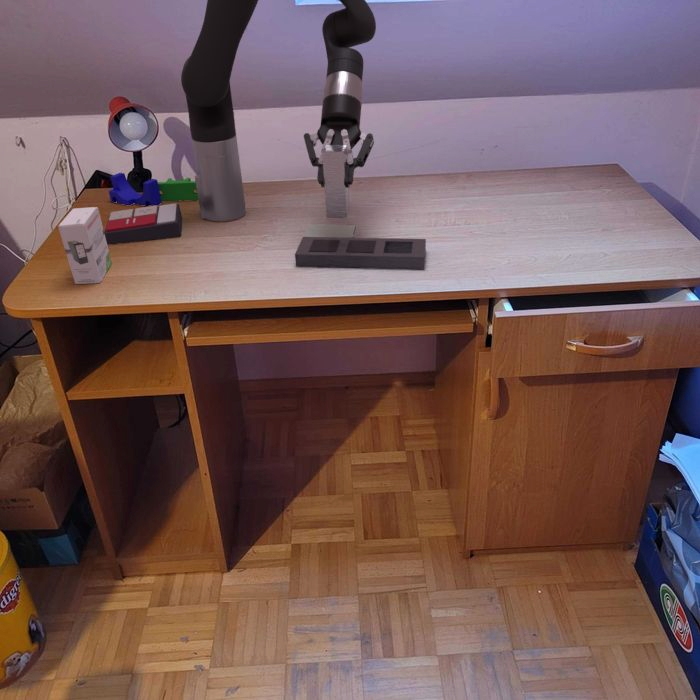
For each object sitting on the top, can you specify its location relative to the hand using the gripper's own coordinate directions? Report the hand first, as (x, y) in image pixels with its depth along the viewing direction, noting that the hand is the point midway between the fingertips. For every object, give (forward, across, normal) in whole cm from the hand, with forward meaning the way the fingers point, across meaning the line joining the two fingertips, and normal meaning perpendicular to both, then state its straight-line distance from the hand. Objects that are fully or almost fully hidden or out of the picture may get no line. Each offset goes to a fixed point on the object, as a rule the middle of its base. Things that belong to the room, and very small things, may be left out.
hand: (334, 185), depth 126 cm
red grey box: (+6, -43, +12) cm, 45 cm away
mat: (+6, -3, +12) cm, 14 cm away
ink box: (+20, -44, -2) cm, 49 cm away
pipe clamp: (-8, -42, +26) cm, 50 cm away
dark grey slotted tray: (+13, +6, +5) cm, 15 cm away
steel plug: (+3, 0, +6) cm, 7 cm away
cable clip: (-5, -52, +23) cm, 57 cm away
